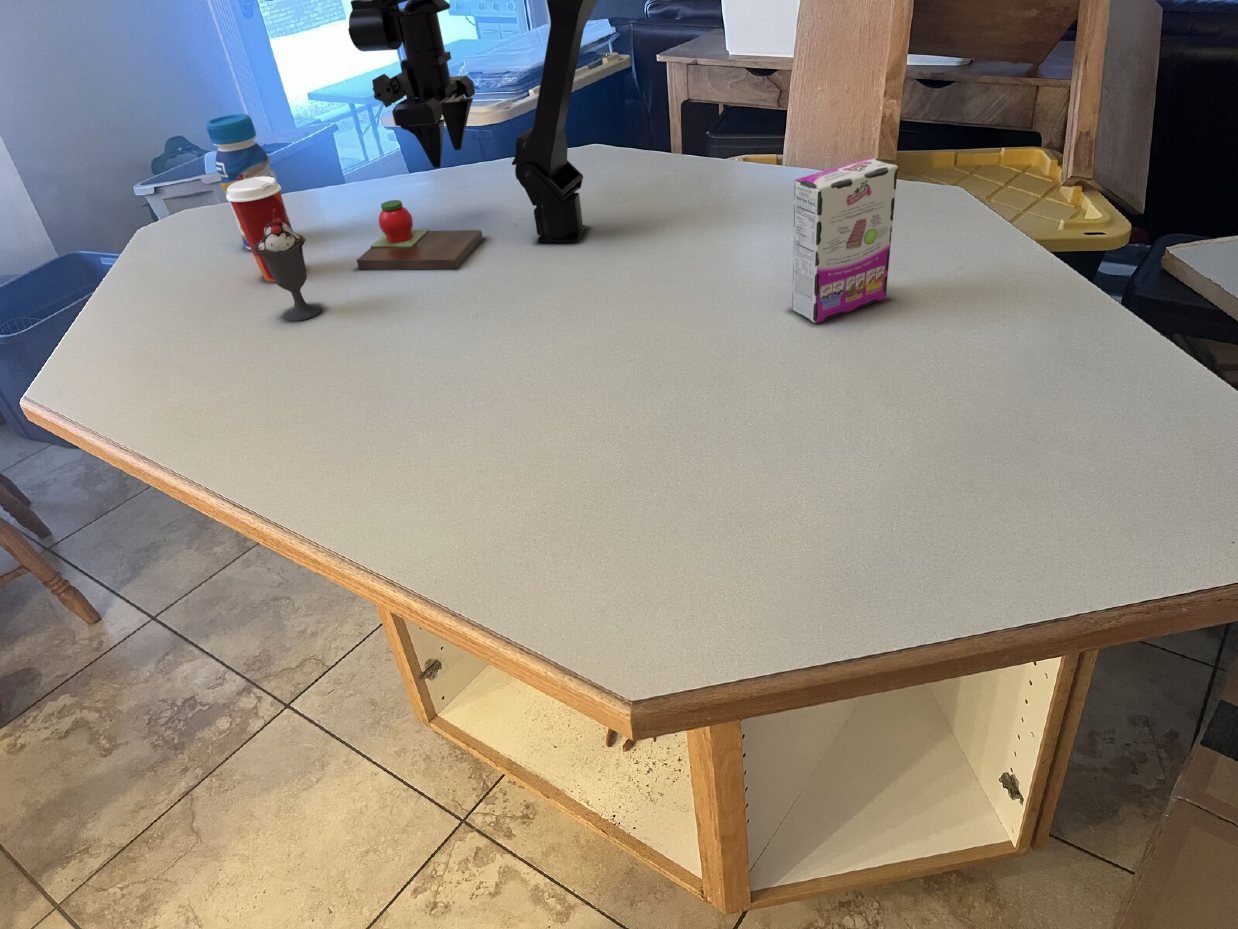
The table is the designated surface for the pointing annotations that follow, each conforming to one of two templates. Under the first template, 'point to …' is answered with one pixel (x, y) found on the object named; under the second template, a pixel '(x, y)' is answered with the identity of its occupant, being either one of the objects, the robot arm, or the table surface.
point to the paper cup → (257, 211)
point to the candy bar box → (842, 238)
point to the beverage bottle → (238, 154)
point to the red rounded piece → (395, 221)
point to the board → (422, 250)
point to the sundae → (286, 265)
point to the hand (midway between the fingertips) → (447, 158)
